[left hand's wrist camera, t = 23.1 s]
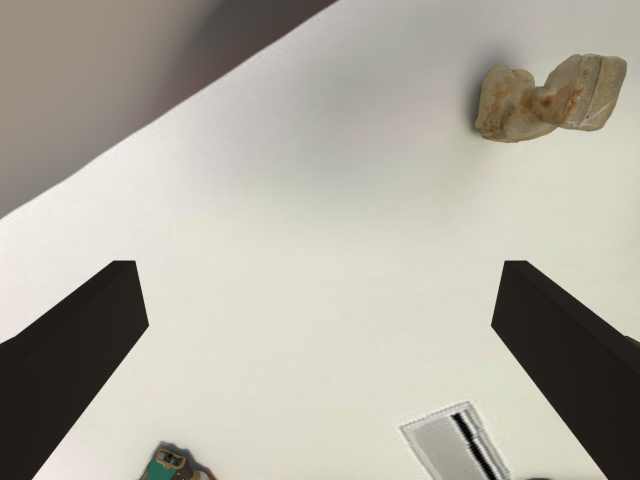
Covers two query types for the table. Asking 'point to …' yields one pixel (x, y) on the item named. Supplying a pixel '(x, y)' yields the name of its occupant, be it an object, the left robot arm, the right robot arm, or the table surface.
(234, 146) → the table surface
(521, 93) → the sculpture
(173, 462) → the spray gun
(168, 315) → the table surface
